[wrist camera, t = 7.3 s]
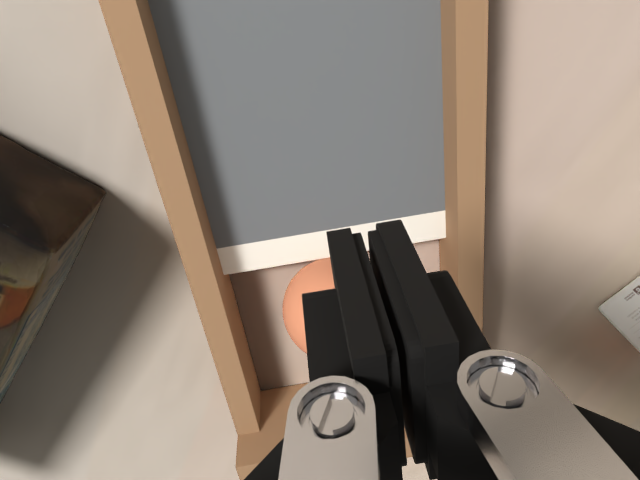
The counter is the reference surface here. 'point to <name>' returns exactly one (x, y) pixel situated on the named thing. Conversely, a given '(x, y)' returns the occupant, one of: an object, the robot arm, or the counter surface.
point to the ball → (304, 281)
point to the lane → (305, 147)
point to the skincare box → (625, 312)
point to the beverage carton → (36, 244)
